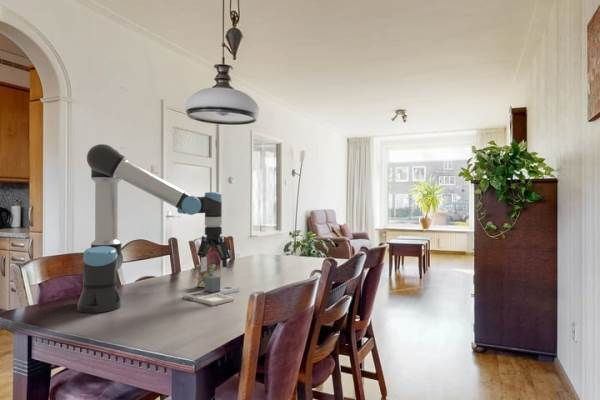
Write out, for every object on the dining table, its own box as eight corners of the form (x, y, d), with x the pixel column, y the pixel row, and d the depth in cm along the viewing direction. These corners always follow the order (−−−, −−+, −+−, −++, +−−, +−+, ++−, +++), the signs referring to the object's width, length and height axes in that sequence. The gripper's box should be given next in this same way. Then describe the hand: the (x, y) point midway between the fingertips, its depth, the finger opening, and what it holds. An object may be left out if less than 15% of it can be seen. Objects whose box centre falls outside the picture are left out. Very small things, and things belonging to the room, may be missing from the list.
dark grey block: (211, 296, 178) (211, 278, 178) (204, 294, 182) (204, 277, 182) (220, 294, 182) (220, 276, 182) (213, 292, 185) (213, 275, 185)
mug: (217, 284, 203) (217, 263, 203) (213, 288, 194) (213, 266, 194) (193, 284, 203) (193, 263, 204) (188, 288, 194) (188, 266, 194)
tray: (212, 305, 162) (213, 301, 162) (196, 301, 169) (196, 297, 169) (233, 300, 171) (233, 297, 171) (216, 296, 178) (216, 293, 178)
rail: (193, 301, 169) (193, 297, 169) (182, 298, 174) (182, 294, 174) (239, 291, 190) (239, 287, 190) (228, 288, 195) (228, 285, 195)
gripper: (238, 226, 177) (238, 274, 177) (202, 224, 193) (202, 268, 193) (225, 227, 171) (225, 277, 171) (189, 225, 187) (189, 271, 187)
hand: (213, 272), depth 182 cm, fingers open, 13 cm apart
